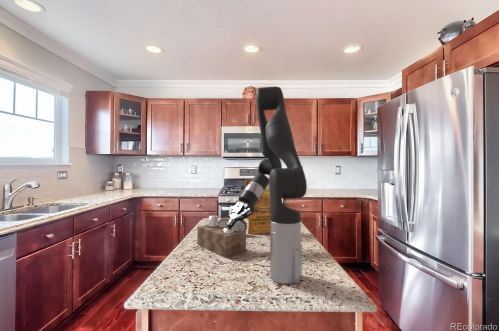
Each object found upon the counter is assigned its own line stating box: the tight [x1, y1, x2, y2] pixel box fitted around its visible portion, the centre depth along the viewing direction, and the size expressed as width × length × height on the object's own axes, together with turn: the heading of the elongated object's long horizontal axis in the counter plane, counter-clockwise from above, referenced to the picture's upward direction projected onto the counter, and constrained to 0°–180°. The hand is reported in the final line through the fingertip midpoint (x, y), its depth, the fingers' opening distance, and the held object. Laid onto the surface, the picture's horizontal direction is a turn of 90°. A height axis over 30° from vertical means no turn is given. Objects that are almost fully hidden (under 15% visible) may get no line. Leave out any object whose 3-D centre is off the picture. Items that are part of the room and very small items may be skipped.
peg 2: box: [224, 228, 234, 233], centre depth 100 cm, size 4×4×8 cm
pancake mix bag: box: [244, 178, 270, 235], centre depth 131 cm, size 7×19×28 cm, turn 103°
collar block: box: [196, 224, 247, 259], centre depth 105 cm, size 21×10×8 cm, turn 41°
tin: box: [218, 217, 248, 232], centre depth 126 cm, size 15×3×8 cm, turn 84°
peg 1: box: [208, 215, 219, 228], centre depth 109 cm, size 4×4×8 cm
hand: (228, 227), depth 101 cm, fingers closed
